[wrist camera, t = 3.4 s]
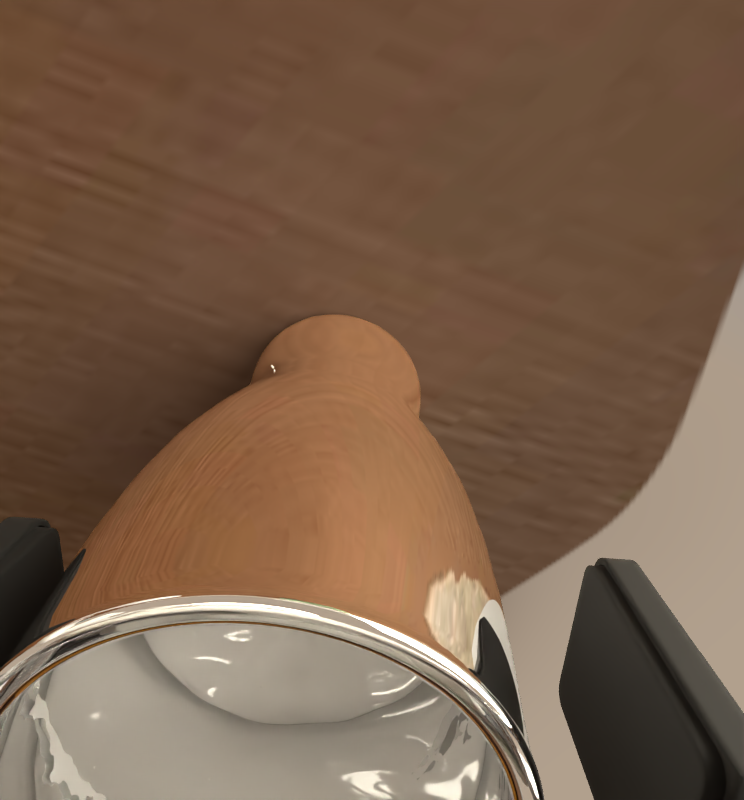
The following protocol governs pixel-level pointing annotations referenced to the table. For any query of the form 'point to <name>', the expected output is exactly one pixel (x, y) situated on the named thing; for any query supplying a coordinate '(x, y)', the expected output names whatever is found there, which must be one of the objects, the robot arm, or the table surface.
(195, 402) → the table surface
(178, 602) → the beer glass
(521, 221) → the table surface
